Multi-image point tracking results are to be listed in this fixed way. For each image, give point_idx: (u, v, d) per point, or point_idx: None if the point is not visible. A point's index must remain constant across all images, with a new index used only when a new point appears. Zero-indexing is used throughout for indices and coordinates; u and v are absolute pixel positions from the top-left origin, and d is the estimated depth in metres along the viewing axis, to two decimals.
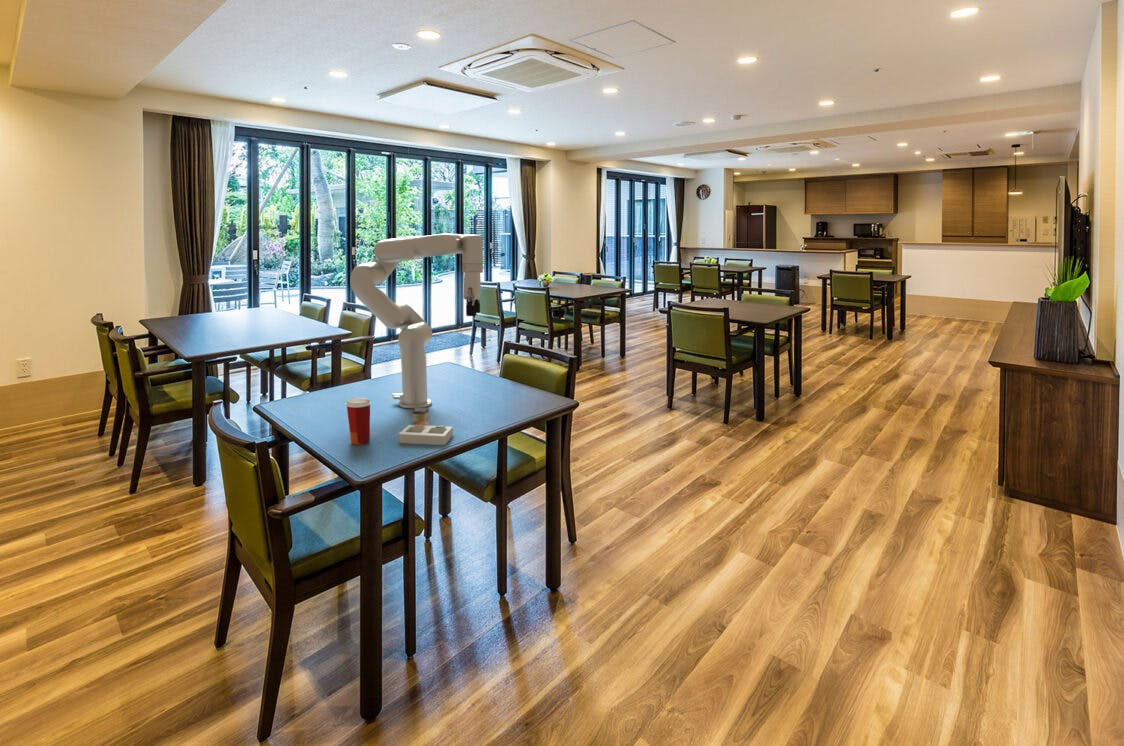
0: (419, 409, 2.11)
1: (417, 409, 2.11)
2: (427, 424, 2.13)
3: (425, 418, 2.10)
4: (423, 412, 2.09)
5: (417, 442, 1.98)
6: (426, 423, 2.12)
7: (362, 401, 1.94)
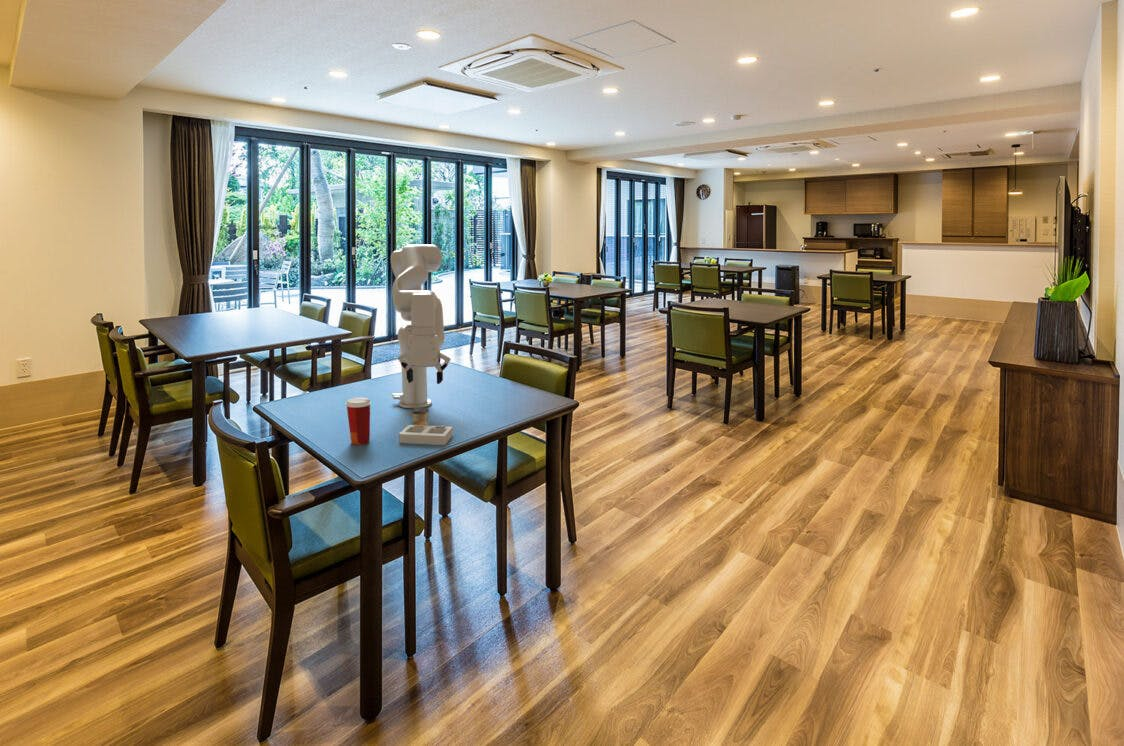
0: (419, 409, 2.11)
1: (417, 409, 2.11)
2: (427, 424, 2.13)
3: (425, 418, 2.10)
4: (423, 412, 2.09)
5: (417, 442, 1.98)
6: (426, 423, 2.12)
7: (362, 401, 1.94)
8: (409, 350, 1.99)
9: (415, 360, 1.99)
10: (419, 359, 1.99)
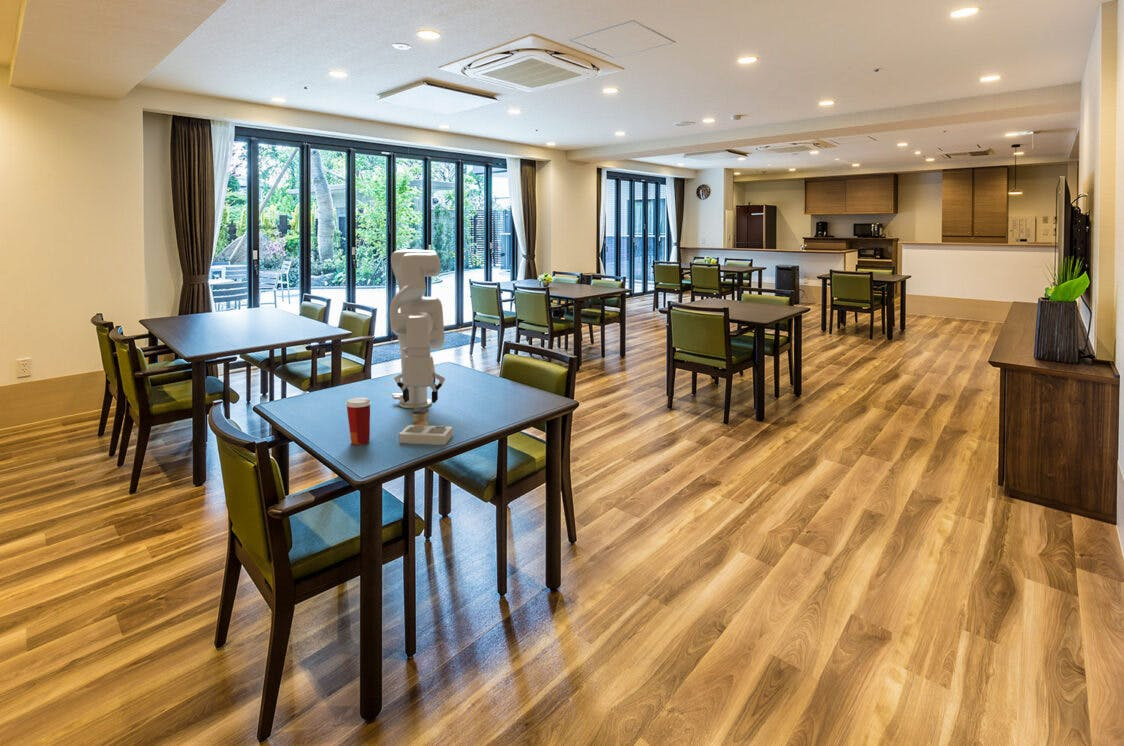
0: (419, 409, 2.11)
1: (417, 409, 2.11)
2: (427, 424, 2.13)
3: (425, 418, 2.10)
4: (423, 412, 2.09)
5: (417, 442, 1.98)
6: (426, 423, 2.12)
7: (362, 401, 1.94)
8: (405, 370, 2.05)
9: (411, 380, 2.06)
10: (415, 380, 2.05)
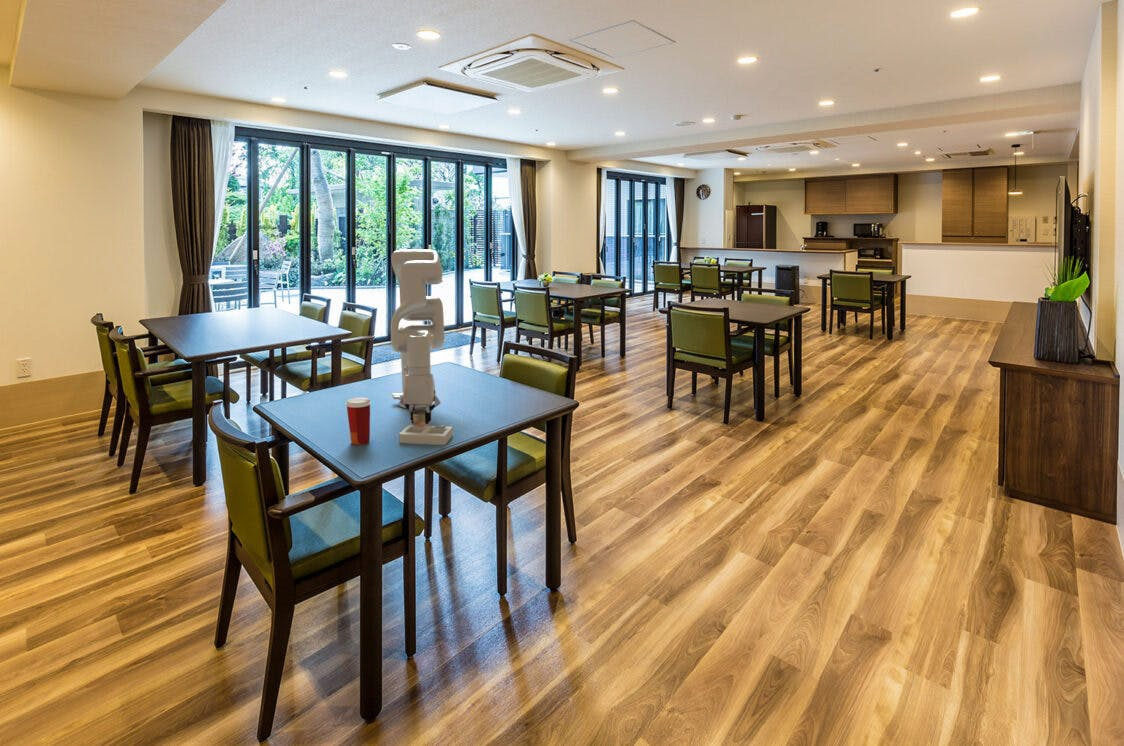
0: (419, 409, 2.11)
1: (417, 409, 2.11)
2: (427, 424, 2.13)
3: None
4: (423, 412, 2.09)
5: (417, 442, 1.98)
6: None
7: (362, 401, 1.94)
8: (405, 389, 2.07)
9: (411, 398, 2.07)
10: (415, 398, 2.07)
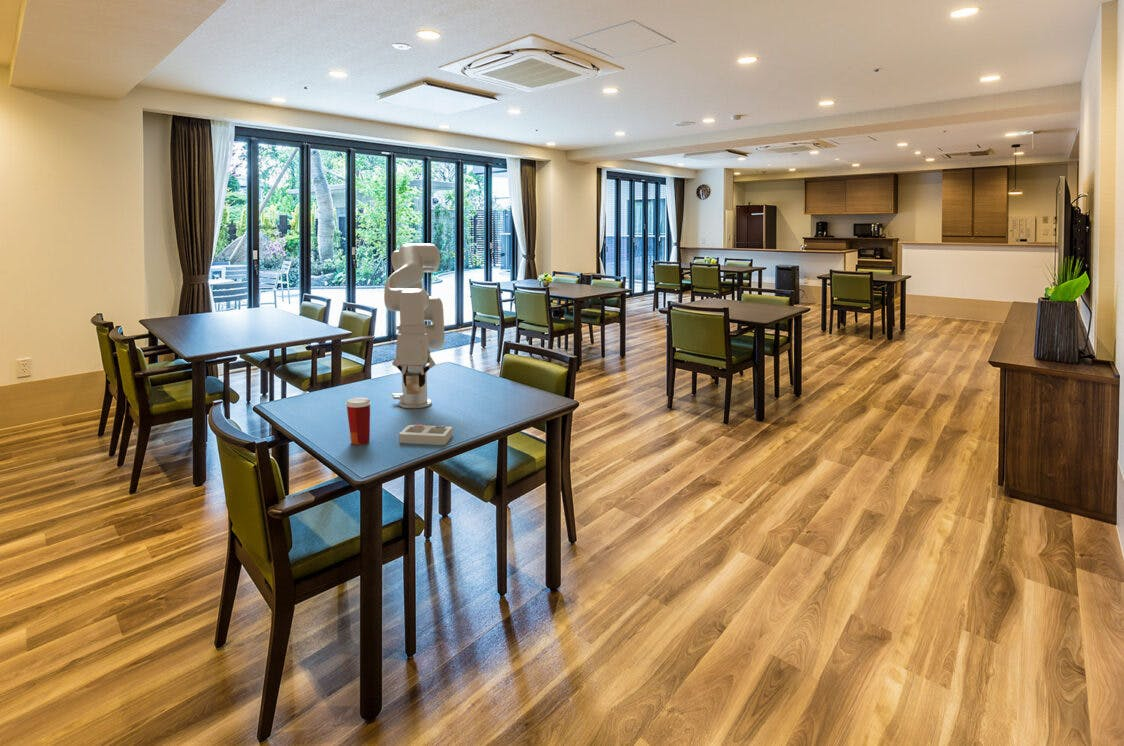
0: (412, 371, 1.99)
1: (410, 371, 1.99)
2: (421, 387, 2.00)
3: None
4: (417, 374, 1.96)
5: (417, 442, 1.98)
6: None
7: (362, 401, 1.94)
8: (398, 349, 1.95)
9: (404, 359, 1.95)
10: (409, 359, 1.95)
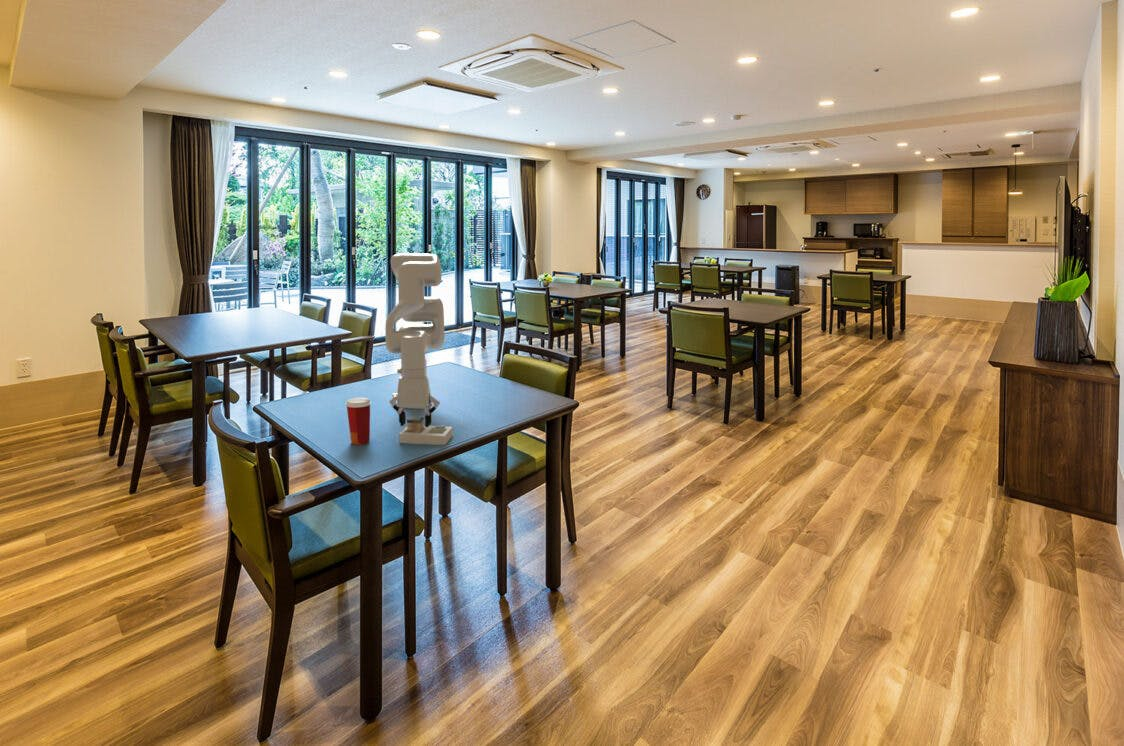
0: (413, 417, 2.01)
1: (411, 417, 2.01)
2: None
3: (419, 427, 2.00)
4: (417, 421, 1.99)
5: (417, 442, 1.98)
6: None
7: (362, 401, 1.94)
8: (399, 392, 1.97)
9: (405, 402, 1.97)
10: (409, 402, 1.97)
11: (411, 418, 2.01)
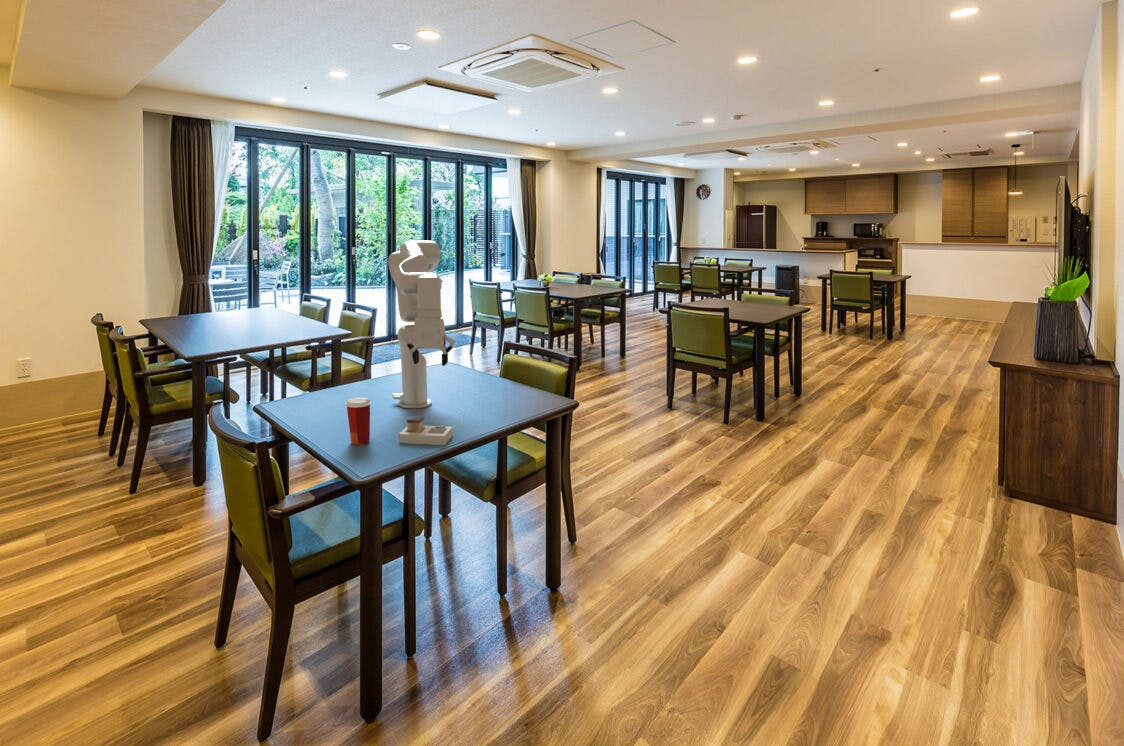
0: (414, 417, 2.01)
1: (411, 417, 2.01)
2: None
3: (420, 427, 2.00)
4: (417, 421, 1.99)
5: (417, 442, 1.98)
6: None
7: (362, 401, 1.94)
8: (415, 332, 2.02)
9: (421, 342, 2.02)
10: (425, 341, 2.02)
11: (411, 418, 2.01)
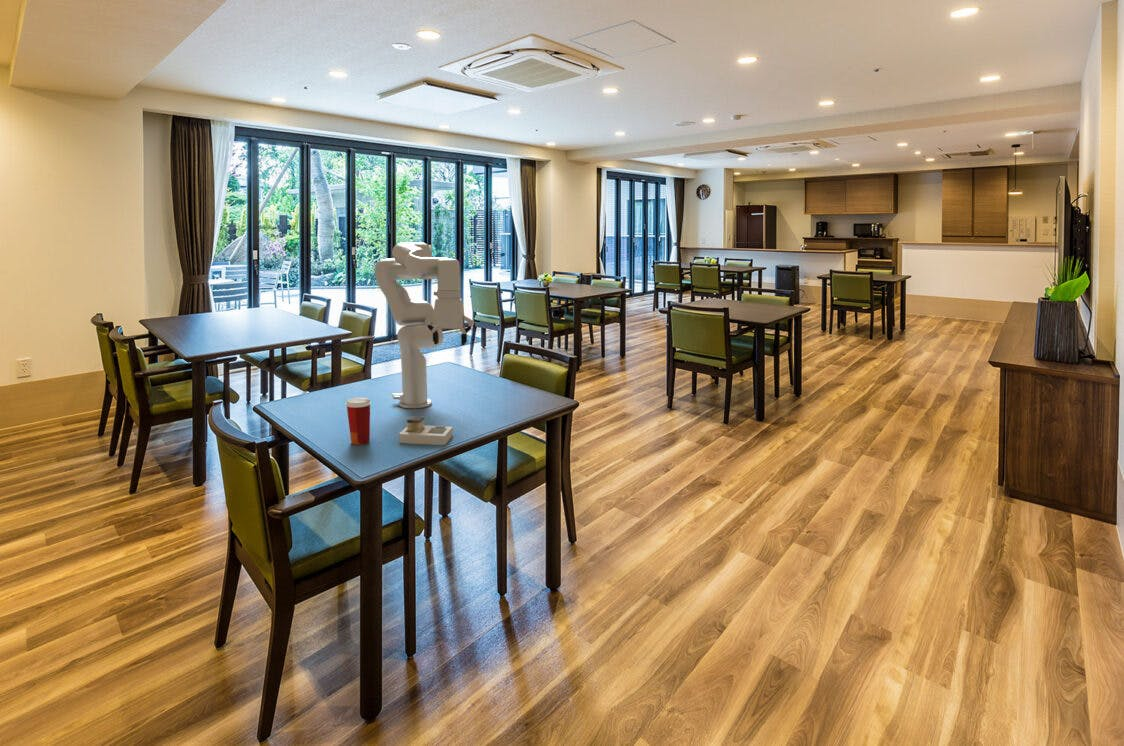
0: (413, 417, 2.01)
1: (411, 417, 2.01)
2: None
3: (419, 427, 2.00)
4: (417, 421, 1.99)
5: (417, 442, 1.98)
6: None
7: (362, 401, 1.94)
8: (435, 313, 2.11)
9: (441, 322, 2.11)
10: (445, 322, 2.11)
11: (411, 418, 2.01)
